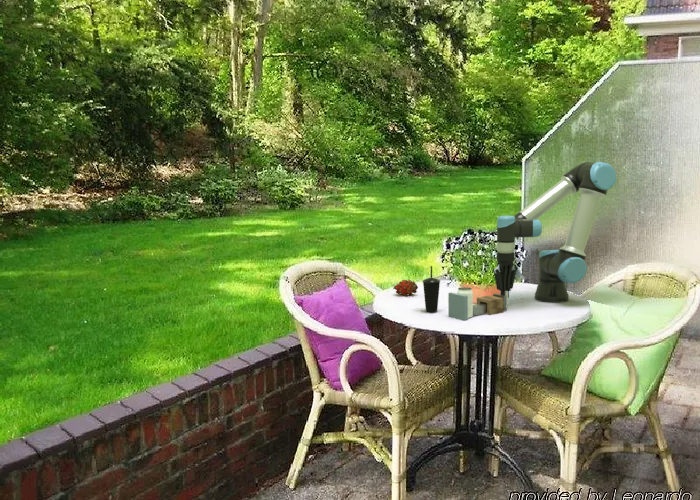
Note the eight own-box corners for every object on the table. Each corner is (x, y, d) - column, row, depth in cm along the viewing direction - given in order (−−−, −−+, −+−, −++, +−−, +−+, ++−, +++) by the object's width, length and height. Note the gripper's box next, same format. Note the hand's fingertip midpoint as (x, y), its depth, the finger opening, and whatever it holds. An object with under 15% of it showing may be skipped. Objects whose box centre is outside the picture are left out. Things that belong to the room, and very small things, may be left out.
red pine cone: (419, 299, 337) (395, 302, 339) (419, 286, 343) (395, 289, 346) (416, 287, 331) (391, 290, 334) (416, 274, 337) (391, 277, 340)
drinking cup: (422, 313, 299) (422, 267, 297) (422, 309, 307) (422, 264, 304) (440, 313, 298) (440, 267, 296) (440, 309, 306) (440, 264, 303)
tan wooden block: (490, 309, 305) (490, 295, 304) (503, 312, 298) (503, 298, 298) (476, 311, 301) (476, 297, 300) (489, 315, 294) (489, 300, 293)
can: (475, 316, 292) (475, 288, 290) (467, 319, 287) (467, 290, 286) (462, 314, 296) (462, 286, 295) (453, 317, 292) (454, 288, 290)
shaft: (495, 308, 306) (495, 293, 305) (506, 310, 300) (506, 295, 299) (465, 313, 296) (465, 298, 295) (476, 316, 291) (476, 300, 290)
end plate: (451, 315, 294) (451, 292, 293) (467, 320, 286) (467, 296, 285) (448, 316, 293) (448, 292, 292) (464, 320, 285) (464, 296, 284)
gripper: (509, 249, 308) (508, 302, 311) (488, 252, 301) (487, 305, 304) (522, 251, 301) (521, 305, 305) (501, 254, 295) (500, 309, 298)
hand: (504, 305), depth 304 cm, fingers closed
